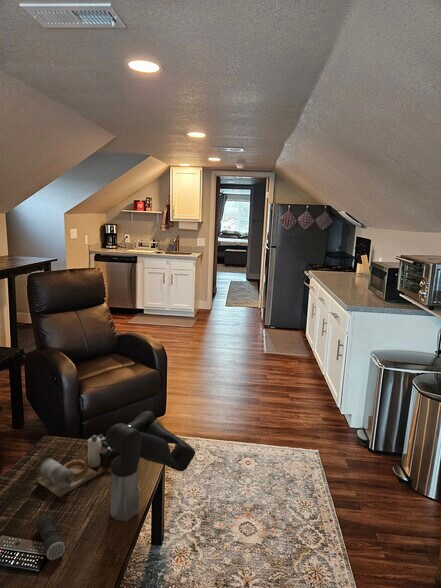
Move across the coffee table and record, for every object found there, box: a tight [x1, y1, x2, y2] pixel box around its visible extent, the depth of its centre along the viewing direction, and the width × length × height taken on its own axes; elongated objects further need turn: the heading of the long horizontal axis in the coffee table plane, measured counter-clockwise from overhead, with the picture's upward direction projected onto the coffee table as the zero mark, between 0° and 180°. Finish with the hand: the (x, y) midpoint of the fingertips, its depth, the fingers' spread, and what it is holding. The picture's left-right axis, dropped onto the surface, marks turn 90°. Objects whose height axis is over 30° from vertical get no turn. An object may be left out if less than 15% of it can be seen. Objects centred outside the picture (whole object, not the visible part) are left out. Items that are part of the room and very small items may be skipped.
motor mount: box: [37, 457, 97, 498], centre depth 163 cm, size 15×17×8 cm
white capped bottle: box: [87, 434, 102, 468], centre depth 174 cm, size 5×5×13 cm
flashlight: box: [35, 514, 66, 561], centre depth 132 cm, size 15×5×5 cm, turn 37°
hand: (93, 451), depth 173 cm, fingers open, 8 cm apart
